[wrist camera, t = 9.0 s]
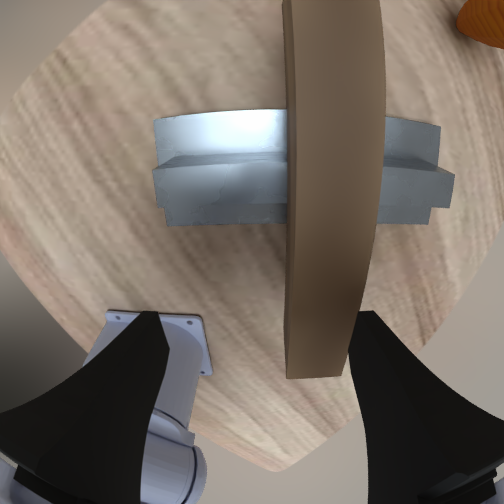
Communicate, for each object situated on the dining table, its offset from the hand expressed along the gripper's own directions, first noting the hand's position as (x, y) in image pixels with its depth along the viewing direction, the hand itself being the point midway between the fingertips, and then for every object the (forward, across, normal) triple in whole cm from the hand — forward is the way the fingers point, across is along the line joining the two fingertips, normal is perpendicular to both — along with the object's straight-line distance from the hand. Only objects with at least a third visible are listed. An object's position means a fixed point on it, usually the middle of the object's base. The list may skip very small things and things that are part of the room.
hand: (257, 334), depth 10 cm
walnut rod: (+6, -3, -4) cm, 7 cm away
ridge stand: (+10, -3, -4) cm, 11 cm away
